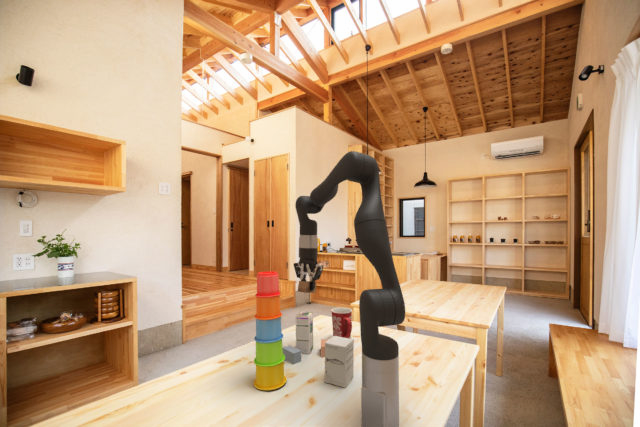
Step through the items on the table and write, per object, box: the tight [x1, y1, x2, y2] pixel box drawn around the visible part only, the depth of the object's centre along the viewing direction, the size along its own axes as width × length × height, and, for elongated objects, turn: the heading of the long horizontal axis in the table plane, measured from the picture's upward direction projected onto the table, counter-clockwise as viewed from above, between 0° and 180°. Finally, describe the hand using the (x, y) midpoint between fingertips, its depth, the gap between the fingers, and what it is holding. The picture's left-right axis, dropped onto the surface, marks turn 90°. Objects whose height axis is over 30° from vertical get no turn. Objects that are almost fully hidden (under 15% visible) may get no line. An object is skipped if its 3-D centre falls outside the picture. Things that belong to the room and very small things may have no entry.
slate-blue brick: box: [283, 344, 302, 365], centre depth 108 cm, size 7×4×4 cm, turn 44°
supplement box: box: [324, 336, 355, 389], centre depth 94 cm, size 7×7×13 cm
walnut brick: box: [297, 280, 317, 294], centre depth 115 cm, size 7×4×4 cm, turn 144°
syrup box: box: [295, 311, 314, 355], centre depth 117 cm, size 6×6×14 cm
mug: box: [331, 307, 353, 339], centre depth 124 cm, size 13×9×14 cm
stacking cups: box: [253, 270, 288, 392], centre depth 93 cm, size 10×10×35 cm
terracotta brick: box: [320, 339, 329, 358], centre depth 114 cm, size 7×4×4 cm, turn 179°
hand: (307, 289), depth 116 cm, fingers closed on walnut brick, 3 cm apart
